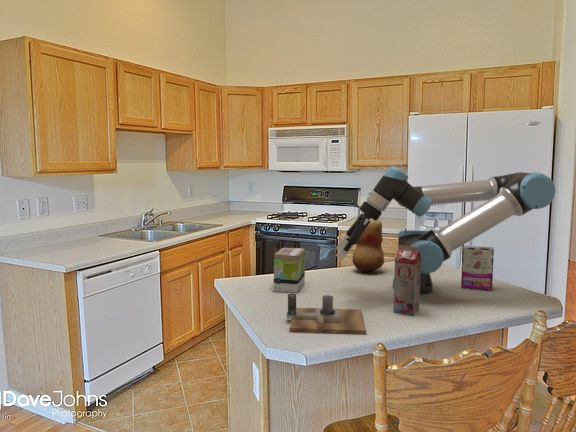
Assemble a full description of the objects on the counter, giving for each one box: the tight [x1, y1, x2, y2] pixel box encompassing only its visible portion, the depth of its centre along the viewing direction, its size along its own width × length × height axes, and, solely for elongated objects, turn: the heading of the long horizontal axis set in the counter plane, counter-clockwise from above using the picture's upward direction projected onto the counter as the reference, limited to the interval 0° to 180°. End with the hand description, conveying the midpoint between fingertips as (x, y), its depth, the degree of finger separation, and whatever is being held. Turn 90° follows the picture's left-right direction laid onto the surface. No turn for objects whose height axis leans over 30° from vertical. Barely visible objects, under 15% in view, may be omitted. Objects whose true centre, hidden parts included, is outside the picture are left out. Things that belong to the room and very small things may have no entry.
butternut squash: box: [352, 218, 385, 273], centre depth 194 cm, size 14×13×25 cm
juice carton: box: [392, 245, 421, 317], centre depth 142 cm, size 7×7×22 cm
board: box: [288, 294, 367, 335], centre depth 133 cm, size 22×18×8 cm
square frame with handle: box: [286, 293, 340, 323], centre depth 134 cm, size 16×7×7 cm, turn 85°
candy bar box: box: [460, 245, 495, 292], centre depth 169 cm, size 11×5×16 cm, turn 68°
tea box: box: [273, 247, 306, 294], centre depth 171 cm, size 15×10×15 cm
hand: (338, 254), depth 156 cm, fingers open, 13 cm apart
